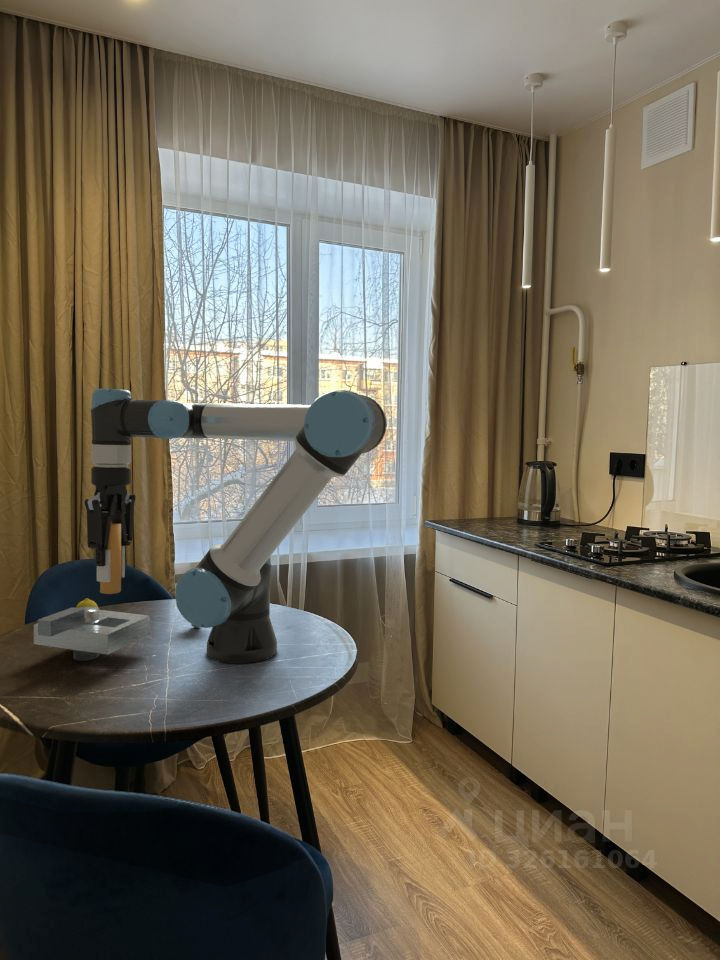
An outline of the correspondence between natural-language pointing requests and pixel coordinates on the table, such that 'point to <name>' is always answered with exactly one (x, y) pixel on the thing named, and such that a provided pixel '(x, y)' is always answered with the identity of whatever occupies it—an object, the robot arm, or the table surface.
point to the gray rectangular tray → (90, 631)
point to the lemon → (86, 603)
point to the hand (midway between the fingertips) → (110, 578)
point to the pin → (114, 561)
